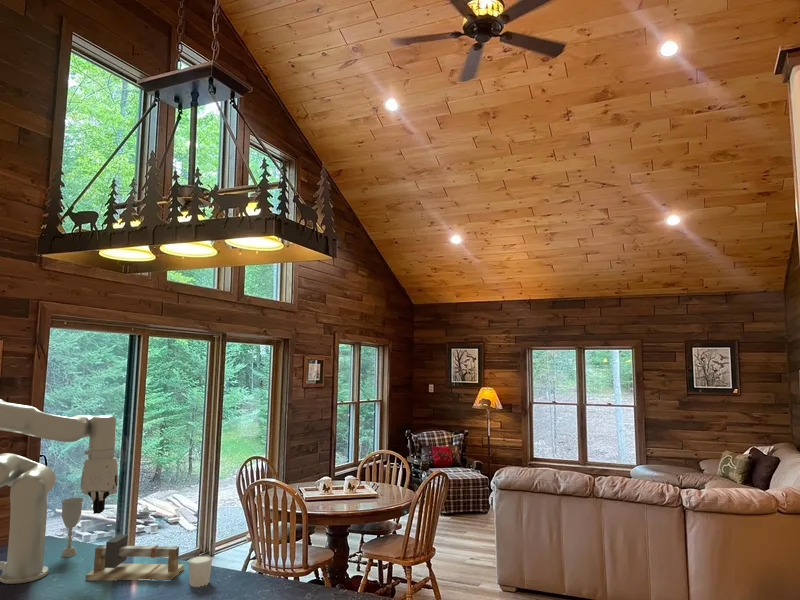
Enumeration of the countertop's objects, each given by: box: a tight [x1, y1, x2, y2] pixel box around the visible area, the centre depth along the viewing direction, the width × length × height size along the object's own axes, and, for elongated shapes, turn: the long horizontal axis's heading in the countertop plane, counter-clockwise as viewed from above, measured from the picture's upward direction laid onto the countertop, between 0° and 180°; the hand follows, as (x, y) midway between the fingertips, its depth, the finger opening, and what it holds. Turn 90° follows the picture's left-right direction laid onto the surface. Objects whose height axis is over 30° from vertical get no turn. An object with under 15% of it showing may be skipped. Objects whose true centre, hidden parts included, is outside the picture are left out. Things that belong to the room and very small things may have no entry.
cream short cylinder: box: [188, 555, 213, 588], centre depth 173 cm, size 7×7×7 cm
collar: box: [105, 534, 129, 568], centre depth 179 cm, size 3×8×8 cm, turn 0°
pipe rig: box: [85, 544, 185, 582], centre depth 179 cm, size 26×10×8 cm, turn 90°
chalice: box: [59, 497, 84, 558], centre depth 197 cm, size 7×7×18 cm
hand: (98, 512), depth 184 cm, fingers closed
